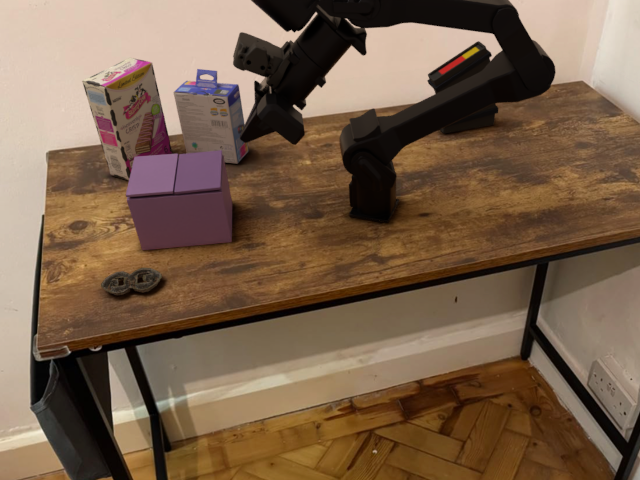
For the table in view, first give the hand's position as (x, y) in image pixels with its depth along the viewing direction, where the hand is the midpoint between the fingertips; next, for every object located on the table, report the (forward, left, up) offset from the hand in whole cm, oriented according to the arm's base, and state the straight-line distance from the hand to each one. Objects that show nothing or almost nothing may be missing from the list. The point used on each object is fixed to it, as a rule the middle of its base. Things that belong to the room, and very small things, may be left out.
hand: (242, 139), depth 94 cm
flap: (+6, +3, -5) cm, 8 cm away
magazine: (-24, -40, -14) cm, 49 cm away
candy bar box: (+26, -10, -14) cm, 31 cm away
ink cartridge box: (+15, -17, -14) cm, 27 cm away
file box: (+9, +4, -13) cm, 17 cm away
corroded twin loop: (+9, +20, -13) cm, 26 cm away
